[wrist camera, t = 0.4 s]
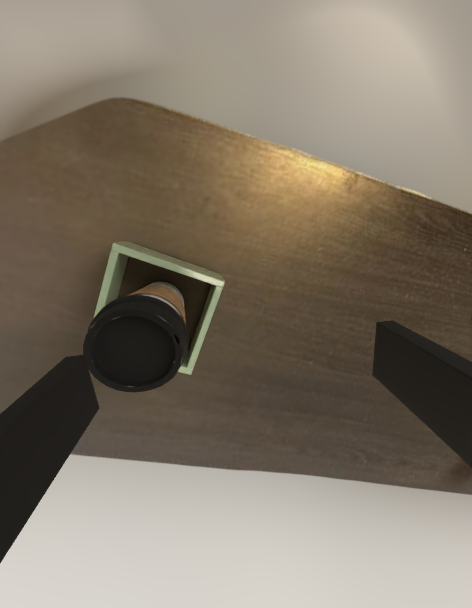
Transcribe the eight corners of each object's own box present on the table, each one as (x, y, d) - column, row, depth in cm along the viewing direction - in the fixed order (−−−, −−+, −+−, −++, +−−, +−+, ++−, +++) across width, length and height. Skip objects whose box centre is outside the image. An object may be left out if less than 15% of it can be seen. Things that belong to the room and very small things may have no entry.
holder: (126, 240, 32) (112, 242, 27) (222, 274, 34) (225, 281, 30) (101, 331, 35) (85, 347, 30) (192, 356, 37) (190, 374, 32)
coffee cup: (202, 320, 36) (202, 379, 22) (145, 340, 36) (106, 415, 21) (179, 262, 33) (162, 287, 19) (117, 284, 33) (53, 326, 19)
